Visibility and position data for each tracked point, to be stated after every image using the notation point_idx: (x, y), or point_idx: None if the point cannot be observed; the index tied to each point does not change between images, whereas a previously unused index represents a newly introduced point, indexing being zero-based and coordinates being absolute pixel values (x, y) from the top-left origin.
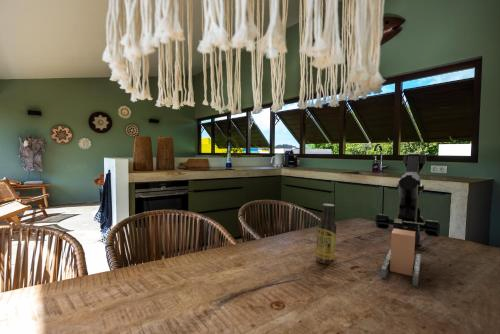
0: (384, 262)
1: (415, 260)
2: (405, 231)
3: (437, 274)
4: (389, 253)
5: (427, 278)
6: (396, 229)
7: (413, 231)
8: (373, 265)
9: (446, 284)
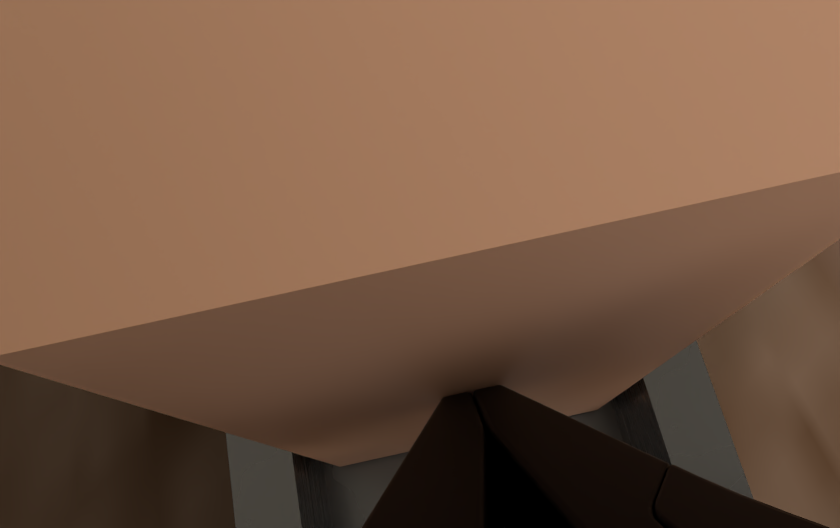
0: None
1: (292, 471)
2: (363, 33)
3: None
4: None
5: (188, 421)
6: (781, 49)
7: (63, 306)
8: (783, 321)
9: (9, 408)
